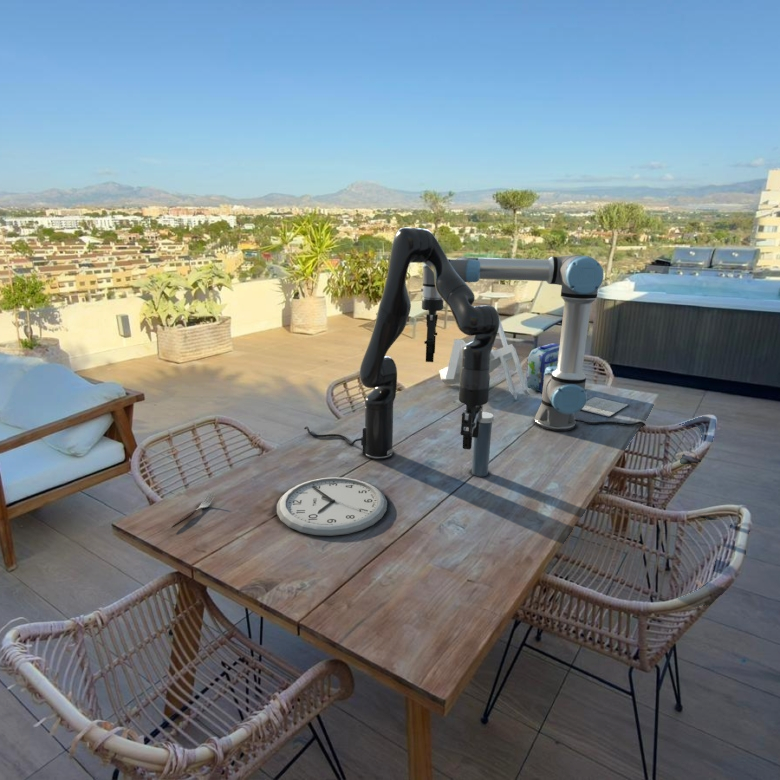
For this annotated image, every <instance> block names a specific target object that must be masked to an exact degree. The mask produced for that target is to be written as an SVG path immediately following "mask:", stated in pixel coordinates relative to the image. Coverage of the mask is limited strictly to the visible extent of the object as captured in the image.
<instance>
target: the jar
mask: <svg viewBox="0 0 780 780" xmlns="http://www.w3.org/2000/svg"><path fill="white" fill-rule="evenodd" d="M492 426H493V422H491V423H480V424H479V436H478V437H477V438H475V437H473V447H472V448H473V449H472V461H471V474H472V475H474V476H476V477H480V478H481V477H486V476H488V474H489V464H490V452H491V451H490V450H491V441H492V440H491V439H492V429H493V428H492Z"/></svg>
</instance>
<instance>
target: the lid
mask: <svg viewBox="0 0 780 780" xmlns="http://www.w3.org/2000/svg"><path fill="white" fill-rule="evenodd" d="M494 419H495V418H494V414H493V413H491V412H488V411H482V419H481V420H480V421H481V423H491V422H492V423H493V422H494Z"/></svg>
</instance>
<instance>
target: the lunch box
mask: <svg viewBox="0 0 780 780" xmlns="http://www.w3.org/2000/svg"><path fill="white" fill-rule="evenodd" d="M559 346H560V343H559V344H558V343H549V344H545V345H542V346H541V345H540V346H538V347H536V348H533V349H531V351H530V353H529V354H528V358H527V368H526V380H525V381H526V384H527V387H528V390H530V389H531V390H534V391H535V390H536V391H539V392H541V393H542V392H543V382H544V373H545V369H546V368H547V367H553V366H557V364H558V355H559Z"/></svg>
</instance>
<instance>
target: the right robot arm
mask: <svg viewBox="0 0 780 780" xmlns="http://www.w3.org/2000/svg"><path fill="white" fill-rule="evenodd" d="M447 259H448V260H449V262H450V264H451V265H452V267H453V268H454V270H455V271H456V273H457V274H458V275H459V276H460V277H461V278H462V280H463V281H464V282H465V283H468V284H470V283H477V282H479V281H480V280H495V281H497V280H499V281H500V280H501V281H526V282H527V281H531V282H546V283H547V284H548V285H557V286H561V289H560V298H561V299H562V300H563V303H564V305H563V313H562V322H561V330H560V339H559V345H560V346H559V355H558V364H557V366H553V367H547V368H546V369H545V373H544V382H543V392H541V393H542V394H541V402H540V405H539V407H538V410H537V411H536V413H535V416H534V424H535V425H536V426H537V427H539V428H542V429H544V430H549V431H556V432H567V431H572V430H574V429H575V428H576V422H577V423H582V424H586V425H605V424H608V425H610V424H611V425H619V426H629V427H632V426H633V427H634V426H637V425H642V426H643V427H644V426H645V427H646V423H645V422H644V421H636V422H621V421H615V420H614V421H613V420H603V421H601V420H599V421H587V420H584V419H578V418H575V417H576V416H575V414H576V413H579V412H580V411H582V410H581V409H582V408H583V407H584V406H585V404H586V401H588V397H587V392H586V389H585V388H586V383H587V382H586V381H587V375H586V374H585V373H584V371H583V369H584V361H585V355H586V347H587V339H588V338H587V337H588V330H589V324H590V318H591V317H590V316H591V308H592V303H593V302H594V301H596V300H597V298H598V294H599V293H598V291H599V288H601V285H602V284H603V281H604V269H603V267H602V265H601V264H600V262H599V261H597V260H596V259H595V258H594V257H592V256H587V255H581V254H574V255H573V254H572V255H565V256H551V257H549V258H548V259H545V258H544V259H543V258H542V259H541V258H540V259H539V258H501V257H500V258H497V257H496V258H495V257H494V258H492V257H466V256H460V257H457V258H455V259H451V258H447ZM422 264H423V265H422V288H420V292H421V293H422V294H421V296H422V299H421V309H422V310H423V311H428V313H426V316H425V320H426V340H424V342H423V343H424V344H425V362H426V363H434V359H435V357H434V356H435V353H436V338H437V337H436V336H438V332H437V329H436V328H437V324H438V318H439V315H438V314H437V311H438V312H439V311H442V310H444V300H443V299H442V298H441V296H440V295H439V293H438V292H437V290H436V287H435V280H434V273H433V271H432V270H431V269H430V268H429V267H428V266H427V265H426V264H424V263H423V262H422Z"/></svg>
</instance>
